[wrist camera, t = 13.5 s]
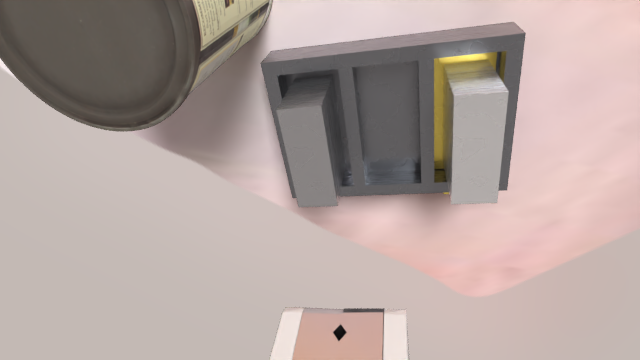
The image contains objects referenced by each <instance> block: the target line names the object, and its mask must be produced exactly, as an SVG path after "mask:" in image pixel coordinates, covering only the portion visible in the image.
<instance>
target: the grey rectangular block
mask: <svg viewBox="0 0 640 360" xmlns="http://www.w3.org/2000/svg"><path fill="white" fill-rule="evenodd" d="M508 93H509V91H508V90H507V88H506V87H505V85H504V84H503V82H502V80H501V79H500V77H499V76H498V74H497V72H496V71H495V69H494V68H493V66H492V65H491V63H490V61H489V60H481V61H472V62H462V63H452V64H444V84H443V165H444V170H445V175H446V180H447V185H448V190H449V196H450V201H451V204H476V203H497V199H498V189H499V180H500V170H501V161H502V151H503V141H504V132H505V122H506V112H507V103H508Z"/></svg>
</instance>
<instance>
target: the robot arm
mask: <svg viewBox="0 0 640 360" xmlns="http://www.w3.org/2000/svg"><path fill="white" fill-rule="evenodd" d="M269 360H409V347H408V331H407V315H406V310H405V309H401V310H400V309H385V310H384V309H322V308H297V307H286V308H285V309H284V311H283V313H282V315H281V319H280V322H279V326H278V329H277V333H276V337H275V340H274V344H273V348H272V351H271V355H270V358H269Z"/></svg>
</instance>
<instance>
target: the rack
mask: <svg viewBox="0 0 640 360" xmlns="http://www.w3.org/2000/svg"><path fill="white" fill-rule="evenodd" d="M524 41H525V32H524V31H523V30H522V29H521V28H520V27H519V26H517V25H516V24H515V23H514V22H509V23H501V24H493V25H484V26H476V27H468V28H459V29H451V30H443V31H435V32H426V33H418V34H410V35H401V36H393V37H385V38H376V39H368V40H360V41H352V42H343V43H335V44H327V45H318V46H310V47H302V48H294V49H285V50H277V51H271V52H270V53H269V54H268V55H267V57H266V58H265V59H264V60H263V61H262V62H261V67H262V71H263V75H264V79H265V84H266V88H267V92H268V96H269V100H270V105H271V109H272V113H273V117H274V122H275V126H276V130H277V134H278V138H279V143H280V147H281V151H282V155H283V159H284V164H285V168H286V172H287V176H288V180H289V185H290V189H291V193H292V197H293V198H297V202H298V206H299V207H320V206H338V201H339V196H363V195H391V194H418V193H443V194H449V190H448V185H447V180H446V175H445V170H444V165H443V84H444V64H452V63H462V62H472V61H481V60H489V61H490V63H491V65H492V66H493V68H494V69H495V71H496V72H497V74H498V76H499V77H500V79H501V80H502V82H503V84H504V85H505V87H506V88H507V90H508V91H509V93H508V103H507V112H506V122H505V132H504V141H503V151H502V161H501V170H500V180H499V189H498V191H499V190H507V186H508V177H509V169H510V160H511V152H512V143H513V135H514V126H515V118H516V109H517V101H518V92H519V84H520V75H521V67H522V58H523V50H524Z"/></svg>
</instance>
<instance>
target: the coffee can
mask: <svg viewBox="0 0 640 360" xmlns="http://www.w3.org/2000/svg"><path fill="white" fill-rule="evenodd" d="M271 5H272V0H0V58H1V60H2V61H3V62H4V64H5V65H6V66H7V67H8V68H9V70H10V71H11V72H12V73H13V74H14V75H15V76H16V78H17V79H18V80H19V81H20V82H22V83H23V84H24V85H25V86H26V87H27V88H28V89H29V90H30V91H31V92H32V93H33V94H35V95H36V96H37V97H38V98H40V99H41V100H42V101H44V102H45V103H47V104H48V105H49V106H51V107H52V108H54V109H55V110H57V111H59V112H60V113H62V114H64V115H66V116H67V117H69V118H72V119H74V120H76V121H78V122H81V123H83V124H86V125H89V126H92V127H96V128H100V129H104V130H111V131H135V130H141V129H145V128H149V127H151V126H154V125H156V124H158V123H160V122H162V121H163V120H164V119H166V118H167V117H169V116H170V115H171V114H172V113H174V112H175V111H176V110H177V109H178V108H179V107H180V106H181V104H182V103H183V102H184V100H185V99H186V98H187V96H188V95H189V94H190V93H191V92H192V91H193V90H194V89H195V88H196V87H197V86H198V85H200V84H201V83H202V82H203V81H204V80H205V79H206V78H207V77H208V76H209V75H211V74H212V73H213V72H214V71H215V70H216V69H217V68H218V67H219V66H220V65H222V64H223V63H224V62H225V61H226V60H227V59H228V58H229V57H230V56H231V55H233V54H234V53H235V52H236V51H237V50H238V49H239V48H240V47H241V46H243V45H244V44H245V43H247V42H248V41H250V40H251V39H252V38H253V37H254V36H256V35H257V34H258V32H259V31H260V29H261V28H262V26H263V25H264V23H265V21H266V19H267V17H268V15H269V12H270V9H271Z"/></svg>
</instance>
